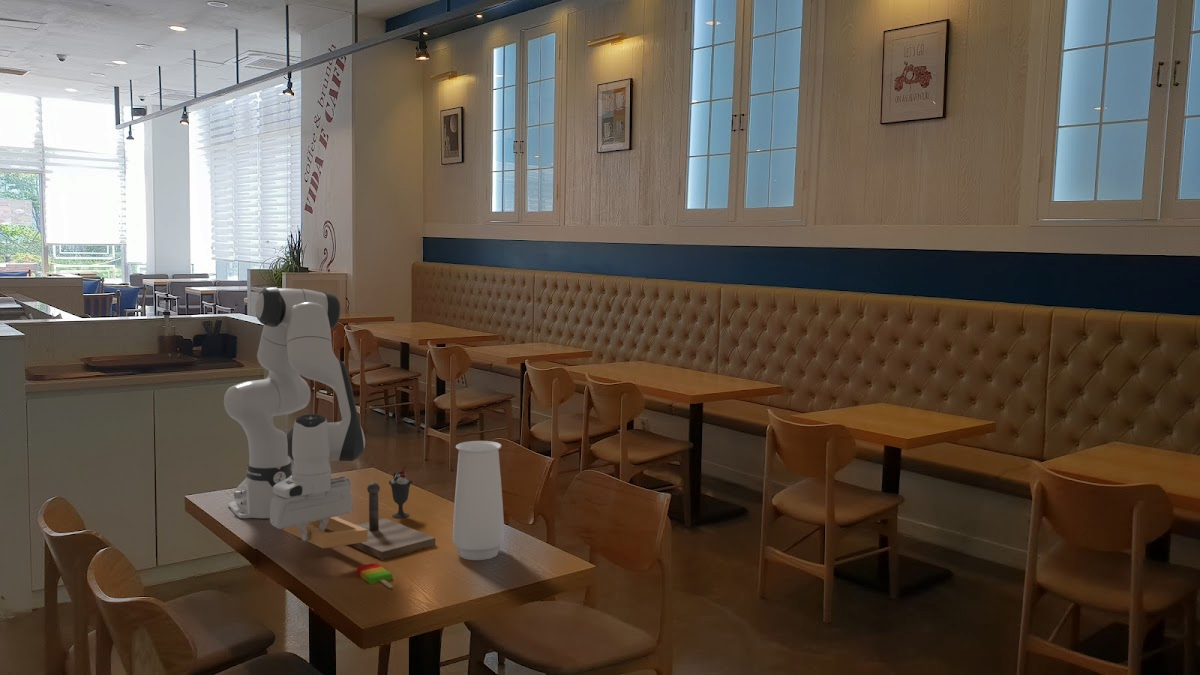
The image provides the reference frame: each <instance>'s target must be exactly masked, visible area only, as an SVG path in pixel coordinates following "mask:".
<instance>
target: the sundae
mask: <svg viewBox="0 0 1200 675" xmlns="http://www.w3.org/2000/svg"><path fill="white" fill-rule="evenodd" d="M406 468H407V466H406V465H404V466H403V468H402V469H401V470H400V471H399V472H394V473H393V476H392V477H393V478H392V480H388V485H389V486H391V493H392V499H393V502H394V503H396V504H397V505H398V510H397V513H394V514H392V515H391V517H392V518H393V517H394V518H393V519H398V518H401V519H407V518H409V517H410V513H407V512H406V513H405V511H404V508H403V506H404V504H405V503H406V502H407V501H408V498H409V494H410V493H409V492H410V488H411V484H412V483H413V481H412V480H411V479H408V476H407V474H406V473H405V469H406ZM408 516H409V517H408ZM406 517H407V518H406Z"/></svg>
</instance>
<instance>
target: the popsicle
mask: <svg viewBox="0 0 1200 675" xmlns="http://www.w3.org/2000/svg"><path fill="white" fill-rule="evenodd" d="M356 575H358V576H359V577H361V578H362V579H363V580H364V581H365V582H367V583H368V584H369V583H370V584H369V585H372V583H373V584H377V583H381V584H383V585H384V586H386V587H387V588H388V589H393V588H394V586H393V585H392V584H391V583H389V582H388V581H390V579H391V580H393V574H392V573H391V572H390V571H388V569H385V568H384V567H383V566H382V565H380V564H378V563H369V564H364V565H359V566H358V567H357V568H356ZM385 580H387V581H385ZM376 582H377V583H376Z"/></svg>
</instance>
